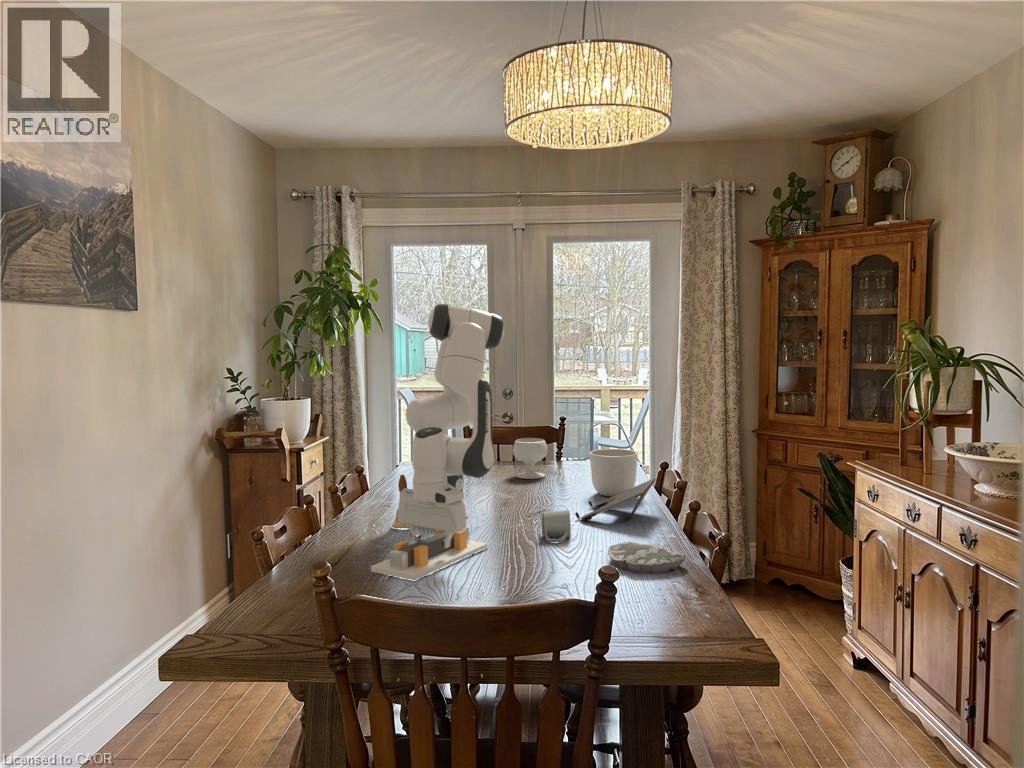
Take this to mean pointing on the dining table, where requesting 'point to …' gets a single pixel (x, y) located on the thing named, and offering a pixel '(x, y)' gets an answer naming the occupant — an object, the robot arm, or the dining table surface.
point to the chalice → (530, 455)
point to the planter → (613, 470)
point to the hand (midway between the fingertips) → (431, 544)
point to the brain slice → (644, 557)
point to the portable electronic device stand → (620, 500)
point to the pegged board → (429, 565)
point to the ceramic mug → (556, 525)
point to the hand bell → (396, 523)
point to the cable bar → (406, 554)
